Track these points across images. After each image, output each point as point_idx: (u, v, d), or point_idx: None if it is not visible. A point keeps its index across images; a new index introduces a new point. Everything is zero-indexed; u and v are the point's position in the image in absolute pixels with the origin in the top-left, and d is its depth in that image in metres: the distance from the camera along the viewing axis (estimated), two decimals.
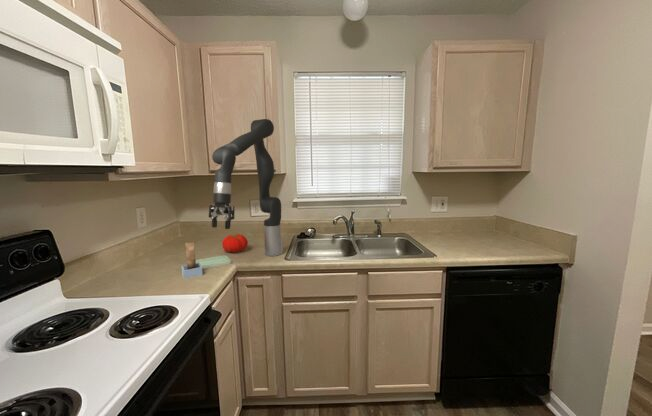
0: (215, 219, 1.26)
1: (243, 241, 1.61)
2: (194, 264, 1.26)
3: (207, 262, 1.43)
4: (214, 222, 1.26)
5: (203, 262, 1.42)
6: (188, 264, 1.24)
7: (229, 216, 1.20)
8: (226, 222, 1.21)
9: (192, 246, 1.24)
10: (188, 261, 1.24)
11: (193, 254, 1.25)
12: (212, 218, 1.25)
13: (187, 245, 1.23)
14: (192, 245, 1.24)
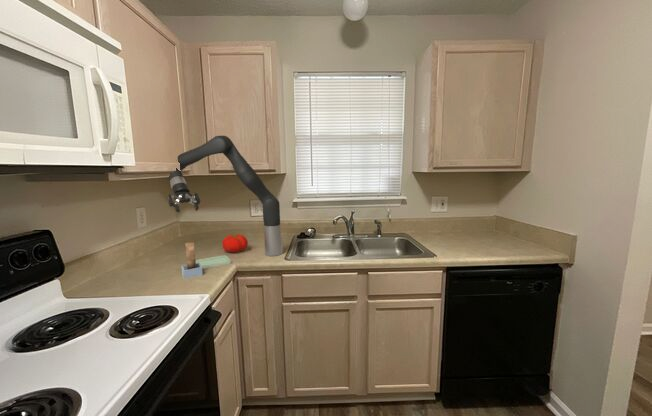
0: (194, 204, 1.42)
1: (243, 241, 1.61)
2: (194, 264, 1.26)
3: (207, 262, 1.43)
4: (194, 206, 1.41)
5: (203, 262, 1.42)
6: (188, 264, 1.24)
7: None
8: None
9: (192, 246, 1.24)
10: (188, 261, 1.24)
11: (193, 254, 1.25)
12: (194, 205, 1.43)
13: (187, 245, 1.23)
14: (192, 245, 1.24)
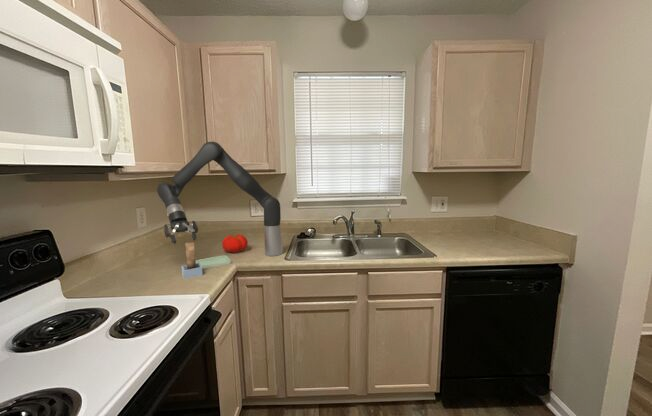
0: (192, 233, 1.34)
1: (243, 241, 1.61)
2: (194, 264, 1.26)
3: (207, 262, 1.43)
4: (192, 236, 1.34)
5: (203, 262, 1.42)
6: (188, 264, 1.24)
7: None
8: None
9: (192, 246, 1.24)
10: (188, 261, 1.24)
11: (193, 254, 1.25)
12: (192, 234, 1.35)
13: (187, 245, 1.23)
14: (192, 245, 1.24)
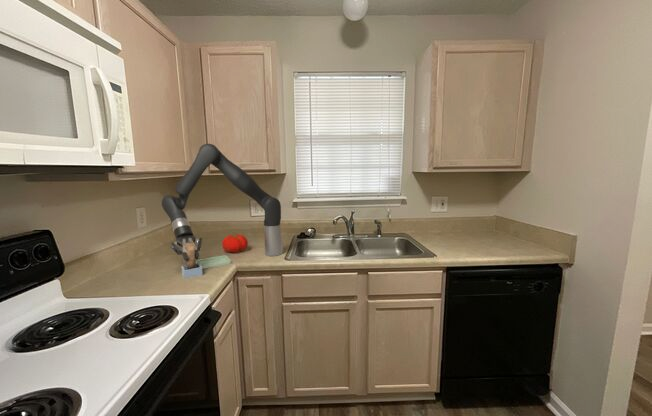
0: None
1: (243, 241, 1.61)
2: (194, 264, 1.26)
3: (207, 262, 1.43)
4: None
5: (203, 262, 1.42)
6: (188, 264, 1.24)
7: None
8: None
9: (192, 246, 1.24)
10: (188, 261, 1.24)
11: (193, 254, 1.25)
12: None
13: (187, 245, 1.23)
14: (192, 245, 1.24)
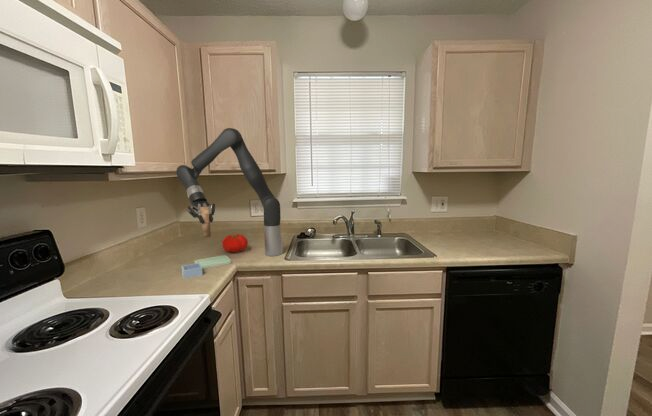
0: None
1: (243, 241, 1.61)
2: (209, 227, 1.35)
3: (207, 262, 1.43)
4: None
5: (203, 262, 1.42)
6: (203, 226, 1.34)
7: None
8: None
9: (207, 210, 1.33)
10: (203, 224, 1.33)
11: (208, 217, 1.34)
12: None
13: (202, 208, 1.32)
14: (207, 209, 1.33)
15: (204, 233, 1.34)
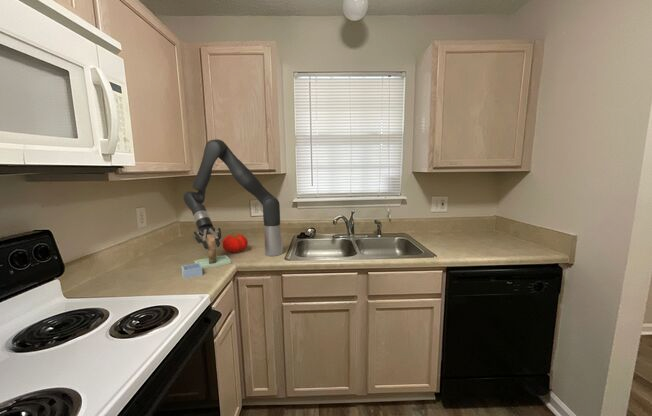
0: (215, 240, 1.42)
1: (243, 241, 1.61)
2: (214, 253, 1.41)
3: (207, 262, 1.43)
4: (216, 242, 1.42)
5: (203, 262, 1.42)
6: (209, 253, 1.40)
7: None
8: None
9: (213, 237, 1.39)
10: (209, 251, 1.39)
11: (214, 244, 1.40)
12: None
13: (209, 236, 1.38)
14: (213, 236, 1.39)
15: (210, 260, 1.40)
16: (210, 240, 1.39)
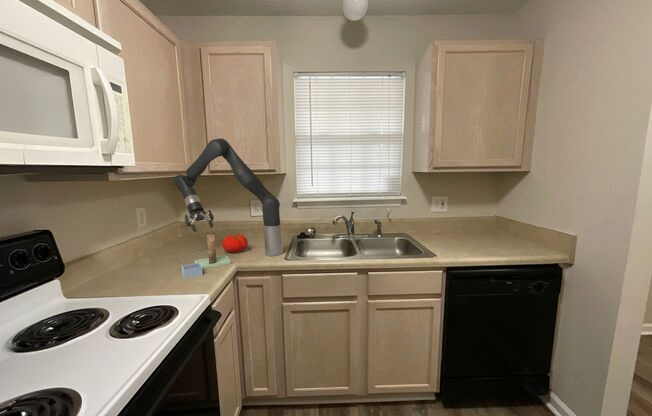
0: (209, 221, 1.53)
1: (243, 241, 1.61)
2: (214, 253, 1.41)
3: (207, 262, 1.43)
4: (209, 224, 1.53)
5: (203, 262, 1.42)
6: (209, 253, 1.39)
7: None
8: None
9: (213, 237, 1.39)
10: (209, 251, 1.39)
11: (214, 244, 1.40)
12: None
13: (208, 236, 1.38)
14: (213, 236, 1.39)
15: (210, 260, 1.40)
16: (210, 240, 1.38)
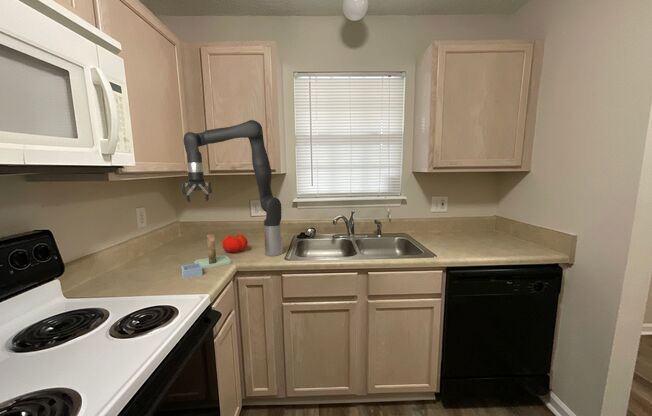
0: (205, 194, 1.48)
1: (243, 241, 1.61)
2: (214, 253, 1.41)
3: (207, 262, 1.43)
4: (205, 196, 1.49)
5: (203, 262, 1.42)
6: (209, 253, 1.39)
7: None
8: None
9: (213, 237, 1.39)
10: (209, 251, 1.39)
11: (214, 244, 1.40)
12: None
13: (208, 236, 1.38)
14: (213, 236, 1.39)
15: (210, 260, 1.40)
16: (210, 240, 1.38)
